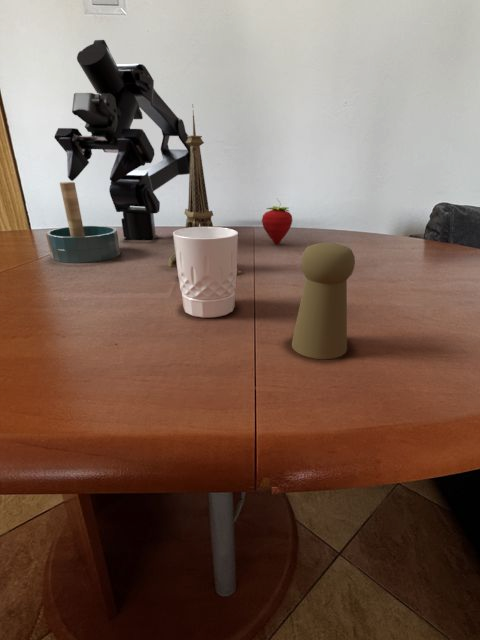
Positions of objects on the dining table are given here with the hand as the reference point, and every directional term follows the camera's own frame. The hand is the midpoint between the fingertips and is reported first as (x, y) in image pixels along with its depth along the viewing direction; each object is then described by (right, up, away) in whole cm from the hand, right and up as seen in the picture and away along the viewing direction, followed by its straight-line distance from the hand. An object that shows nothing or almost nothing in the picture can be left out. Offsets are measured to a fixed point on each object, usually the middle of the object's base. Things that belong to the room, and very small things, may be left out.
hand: (90, 180), depth 71 cm
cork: (+39, -32, -29) cm, 58 cm away
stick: (-2, -14, +1) cm, 14 cm away
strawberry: (+36, -7, +17) cm, 40 cm away
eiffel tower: (+22, -18, -4) cm, 28 cm away
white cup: (+25, -27, -20) cm, 42 cm away
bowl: (-2, -14, +2) cm, 14 cm away
